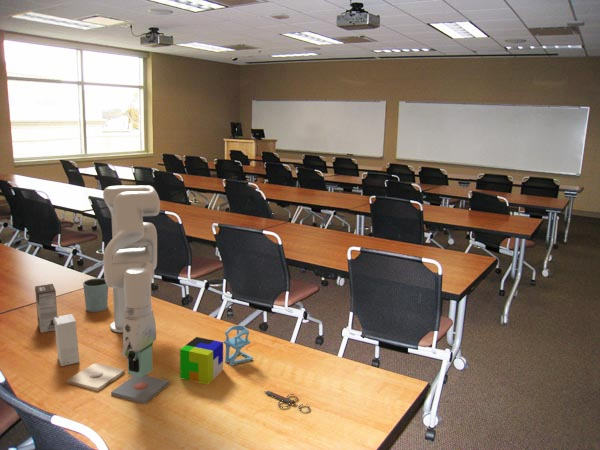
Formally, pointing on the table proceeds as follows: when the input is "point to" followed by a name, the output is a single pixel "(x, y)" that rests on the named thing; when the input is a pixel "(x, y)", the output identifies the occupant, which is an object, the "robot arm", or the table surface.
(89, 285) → the teal cup
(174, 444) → the table surface
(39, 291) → the coffee box
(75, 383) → the birch pad
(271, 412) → the table surface
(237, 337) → the chair
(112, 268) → the robot arm
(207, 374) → the puzzle toy
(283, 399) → the syringe
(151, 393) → the slate mat
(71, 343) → the skincare box
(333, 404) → the table surface
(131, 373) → the teal block
